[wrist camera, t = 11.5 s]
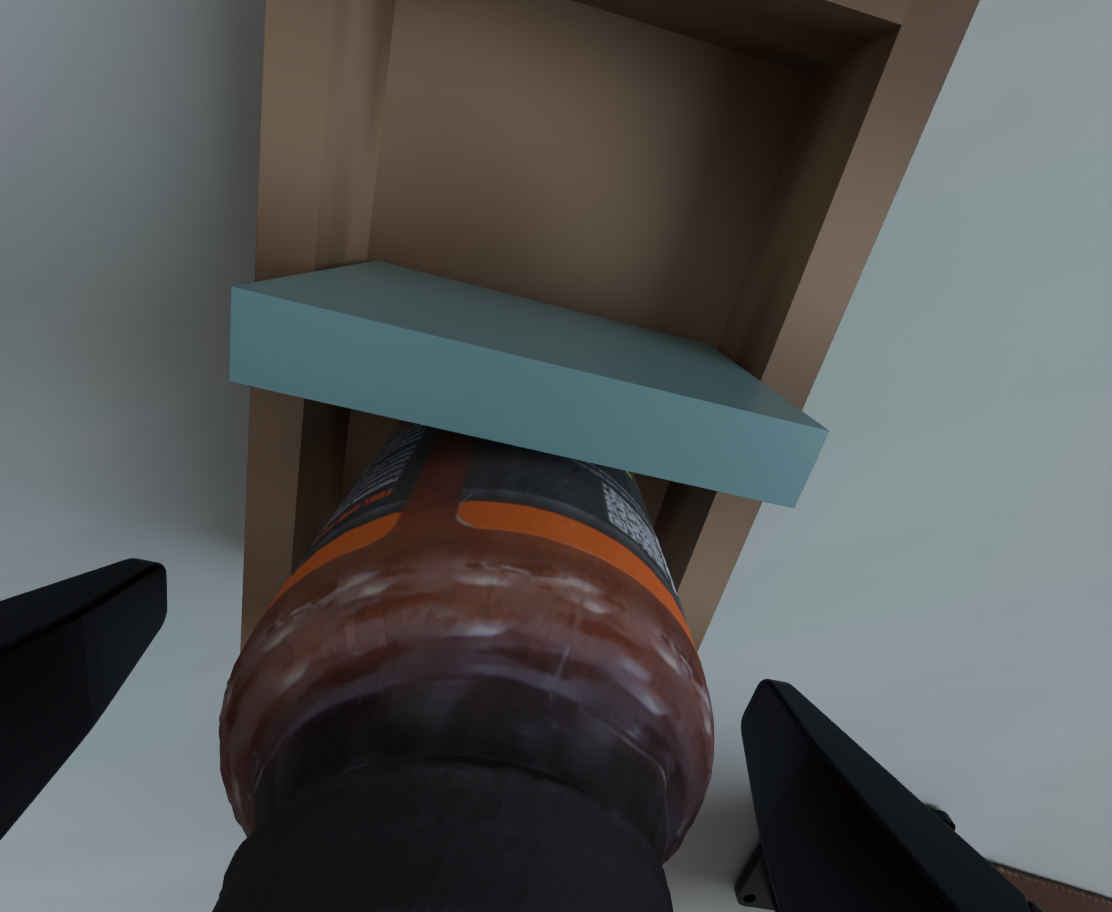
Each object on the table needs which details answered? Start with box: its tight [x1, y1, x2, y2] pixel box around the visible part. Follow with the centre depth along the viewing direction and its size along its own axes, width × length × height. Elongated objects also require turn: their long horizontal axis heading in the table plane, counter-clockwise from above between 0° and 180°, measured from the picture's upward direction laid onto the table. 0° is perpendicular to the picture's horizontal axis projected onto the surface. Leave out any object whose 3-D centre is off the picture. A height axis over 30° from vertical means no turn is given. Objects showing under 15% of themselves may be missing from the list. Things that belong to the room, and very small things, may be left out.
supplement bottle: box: [212, 420, 714, 912], centre depth 9 cm, size 6×6×11 cm
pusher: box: [229, 261, 829, 508], centre depth 10 cm, size 1×8×6 cm, turn 76°
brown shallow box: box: [240, 0, 980, 653], centre depth 12 cm, size 16×10×4 cm, turn 166°
